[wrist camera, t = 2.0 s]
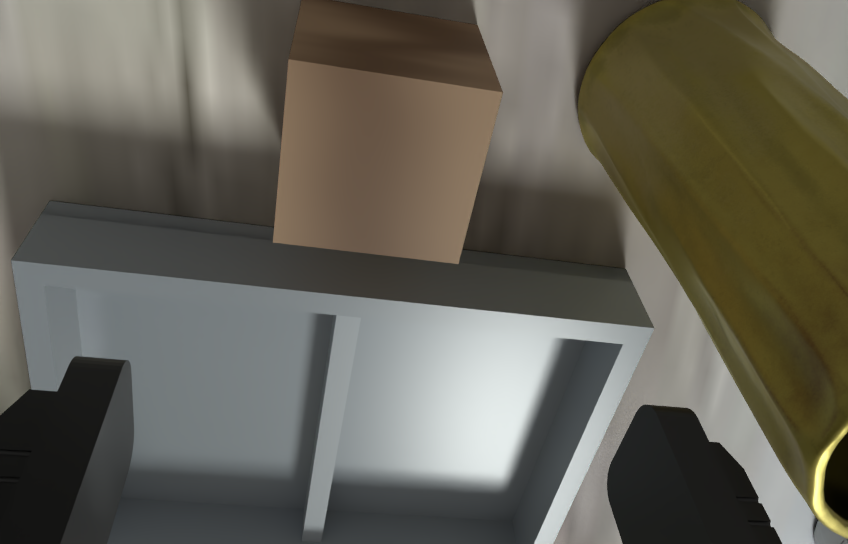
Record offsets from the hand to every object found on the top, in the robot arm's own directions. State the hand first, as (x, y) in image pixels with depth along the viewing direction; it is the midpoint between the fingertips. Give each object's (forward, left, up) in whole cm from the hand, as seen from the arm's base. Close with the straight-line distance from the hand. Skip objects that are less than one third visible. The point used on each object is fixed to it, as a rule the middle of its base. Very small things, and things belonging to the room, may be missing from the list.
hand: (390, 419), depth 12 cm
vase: (-9, -1, -14) cm, 16 cm away
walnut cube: (0, 0, -13) cm, 13 cm away
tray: (0, +13, -13) cm, 18 cm away
